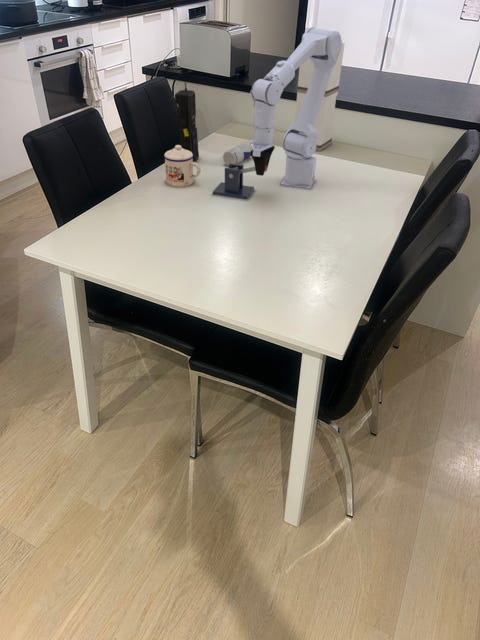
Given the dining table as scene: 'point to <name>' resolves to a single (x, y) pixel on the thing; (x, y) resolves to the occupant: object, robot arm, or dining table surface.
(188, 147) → the portable radio
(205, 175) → the dining table surface
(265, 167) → the lever
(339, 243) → the dining table surface
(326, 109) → the tall banded cream box
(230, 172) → the bracket
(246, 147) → the energy drink
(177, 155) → the teacup with lid
